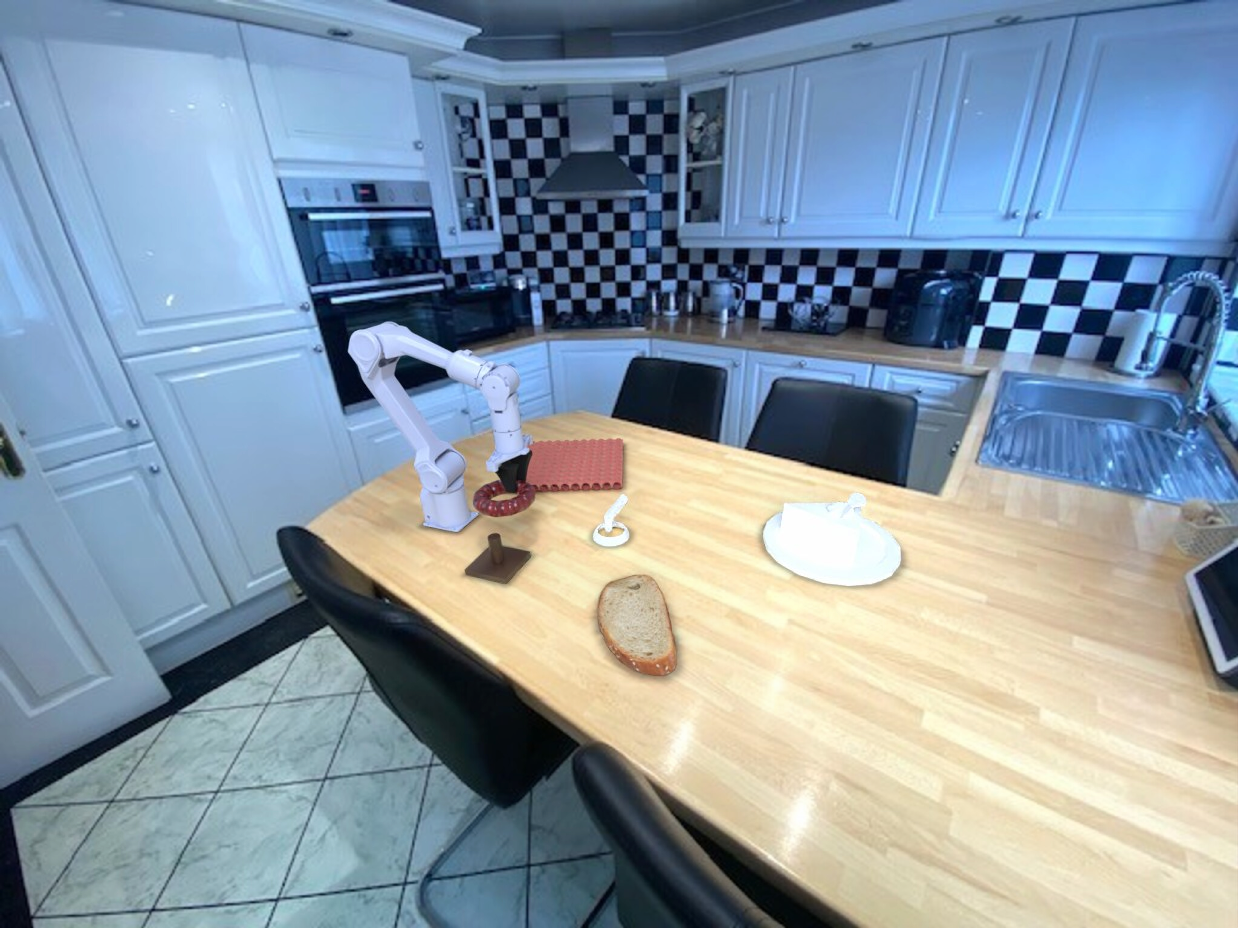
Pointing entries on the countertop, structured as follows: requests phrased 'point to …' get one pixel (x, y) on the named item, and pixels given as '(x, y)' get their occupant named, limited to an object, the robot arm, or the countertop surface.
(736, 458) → the countertop surface
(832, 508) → the dish
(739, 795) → the countertop surface
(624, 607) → the bread slice
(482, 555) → the post
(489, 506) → the ring
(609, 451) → the egg carton
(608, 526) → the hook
